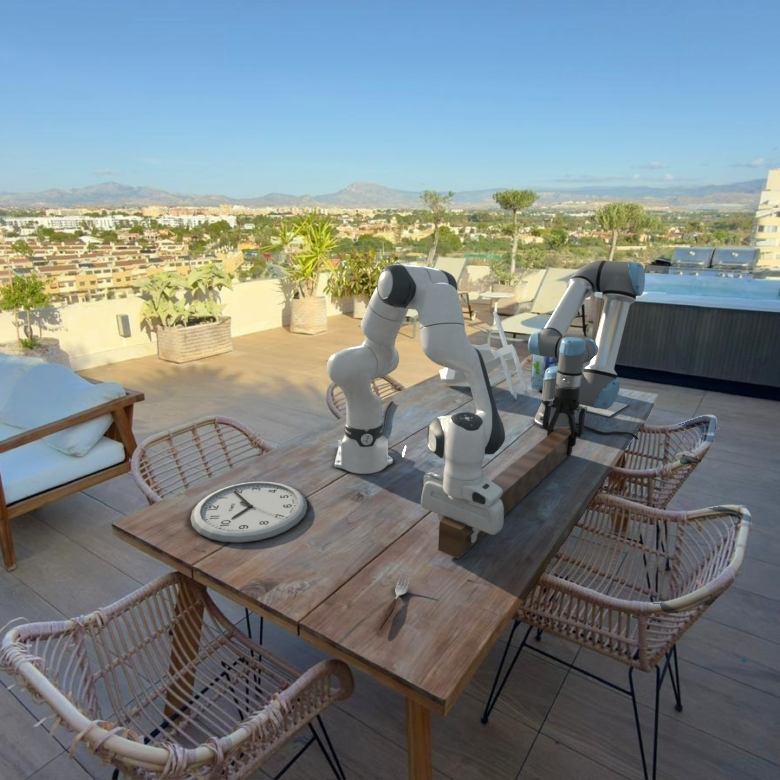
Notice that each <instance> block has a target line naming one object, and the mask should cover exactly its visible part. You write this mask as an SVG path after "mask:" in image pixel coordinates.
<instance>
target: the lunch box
mask: <svg viewBox="0 0 780 780" xmlns="http://www.w3.org/2000/svg"><path fill="white" fill-rule="evenodd" d="M558 362H559V359H557V358H552V357H545V356H539V355H535V354H533V357H532V362H531V371H530V372H531V374H530V387H531V389H533V390H539V391H543V381H544V380H543V379H544V375H545V371H546V369H548V368H550V367H553V366H558Z"/></svg>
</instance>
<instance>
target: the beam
mask: <svg viewBox="0 0 780 780" xmlns="http://www.w3.org/2000/svg"><path fill="white" fill-rule="evenodd" d="M552 431H553V430H552ZM570 436H571V431H570V430H569V429H565V428H561V427H558V428H557V429H555V430H554V431H553V432H552V433H550V434H549V435H548V436H547V435H546V436H545V437H544V438H542V440H540V441H539V442H538V443H536V444H535V445H534V446H533V447H531V448H530V449H529V450H528V451H526V452H525V453H524V454H523V455H521V456H520V457H519V458H517V459H516V460H515V461H514V462H513V463H511V464H510V465H509V466H508V467H506V468H505V469H503V470H502V471H501V472H500V473H499V474H497V475H496V476H495V477H494V478H493V479H490V481H492V482H493V483H495V484H496V485H498V486H499V487H501V488H502V491H503V492H502V495H501V497H500V498H499V499H500V500H501V501H502V503H503V507H504V517H505V516H507V514H508V513H509V512H510V511H511V510H512V509H514V507H516V505H518V504H519V503H520V502H521V501H522V500H523V499H524V498H525V497H526V496H527V495H528V494H529V493H530V492H531V491H533V489H534V488H536V487H537V486H538V485H539V484H540V483H541V482H542V481H543V480H544V479H545V478H546V477H547V476H548V475H549V474H550V473H551V472H553V471H554V469H555V468H557V467H558V466H559V465H560V464H561V463H562V462H563V461H564V460H565V459H566V458H567V457H568V456H567V448H568V440H569V437H570ZM573 448H574V447H573V446H572V450H573ZM471 532H475V531H473V527H471V526H468V525H467V524H464V523H461V522H459V521H456V520H454V519H451V518H449V517H445V518H443V519H442V520H441V521H440V520H439V525H438V542H437V543H438V544H437V550H438V551H440V552H442V553H444V554H447V555H449V556H450V557H453V558H456V559H458V560H459V559H461V558H462V557H463V556H464V555H465V554H466V553H467V552H468V551H469V550H470V549H471V548H472V547H473V546H474V545H475V544H476V543H478V541H480V540H481V539H482V538H483V537H484V536H485V535H486V534H487V533H486V532H483V531H481V530H480V532H479V533H478V534H477V539H476V541H475V542H474V543H472V542H469V541H468V534H470V533H471Z"/></svg>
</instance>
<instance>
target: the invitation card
mask: <svg viewBox="0 0 780 780" xmlns="http://www.w3.org/2000/svg"><path fill="white" fill-rule="evenodd" d="M581 406H583V407H587V411H586V412H587V413H593V414H596V415H600V416H604V417H608V418H609V417H611V416H613V415H614V414H616V413H617V412H619V411H621V410H623V409H624V408H626V407H628V406H629V404H627V403H623V402H618V401H614V403H613V404H612V406H611V407H609V408H608V409H600V408H593V407H590V406H585V405H581ZM576 410H578V408H577V409H576Z"/></svg>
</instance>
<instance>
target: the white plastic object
mask: <svg viewBox="0 0 780 780" xmlns="http://www.w3.org/2000/svg"><path fill="white" fill-rule="evenodd" d="M492 315H493V319H494V321H495V324H496V325H495V326H496V328H497V332H498V335H499V338H500V342H501V345H502V347H500V348H498V349H496V350H495V349H493V348H492V347H491V346H490V344H489V343H488V342H487V343H483V344H479V345H473V347H474V348H476V349H478V350H479V351H480V353H481V355H482V358H483V360H484V364H485V367H486V370H487V374H488V375H489V374H490V373H492V372H494V371H495V370H496V369H497V368H499V367H500V366H502V370H503V373H504V376H505V380H506V383H507V386H508V390H509V393H510V394H511V395H512V397H513V398H514V399H515V400H517V392H516V391H517V390H516V388H515V385H514V381H513V378H512V375H511V371H510V369H509V365H508V361H510V360H513V363H514V366H515V369H516V372H517V376H518V380H519V382H520V385H521V389H522V391H523V393H524V395H525V396H526V397H528V396H531V395H530V390H529V388H528V387H529V386H528V384H527V381H526V378H525V375H524V371H523V369H522V368H523V367H522V366H521V362H520V359H519V355H518V352H517V349H516V347H515V346H514V345H513V343H511V344H508V341H507V337H506V334H505V331H504V328H503V325H502V321H501V318H500V315H499V314H498V312H497V311H496V310H495V311H492ZM438 372H439V376H440V381H442V383H443V384H444V385H445V386H449V385H458V384H467V383H468V384H469V382H468V380H467V379H466V377H465V376H463V375H462V374H461V373H459V372H457V371H455V370H452V369H450V368H446V367H443V368H442V369H440V370H439V371H438Z"/></svg>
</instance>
